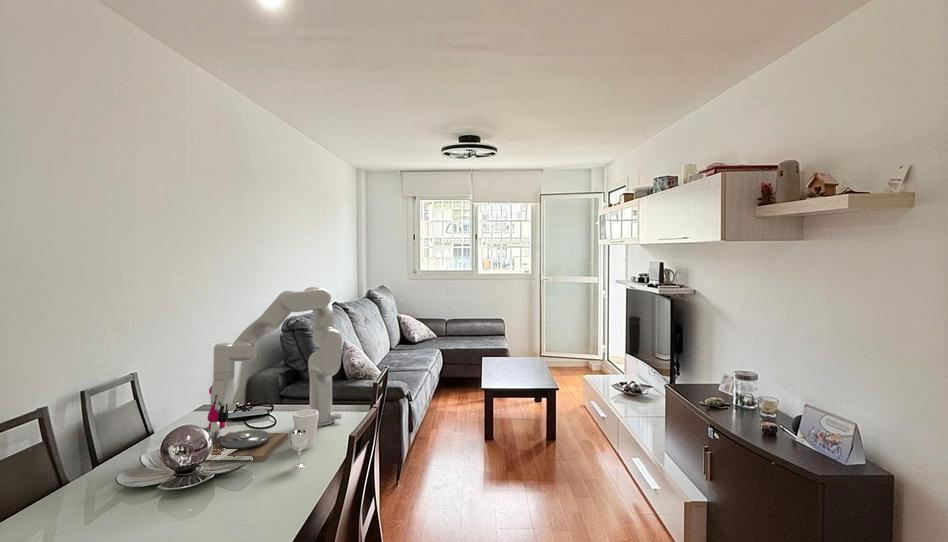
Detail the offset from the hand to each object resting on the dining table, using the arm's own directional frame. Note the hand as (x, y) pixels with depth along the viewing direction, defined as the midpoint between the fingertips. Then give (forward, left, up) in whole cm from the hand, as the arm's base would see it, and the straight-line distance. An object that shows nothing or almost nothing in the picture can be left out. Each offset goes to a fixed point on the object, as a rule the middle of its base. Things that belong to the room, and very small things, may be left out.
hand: (222, 421), depth 201 cm
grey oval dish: (-10, +7, -5) cm, 13 cm away
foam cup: (-34, +4, -8) cm, 35 cm away
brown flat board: (-12, +7, -8) cm, 16 cm away
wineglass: (-38, +23, -8) cm, 45 cm away
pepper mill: (+11, -17, -8) cm, 22 cm away
